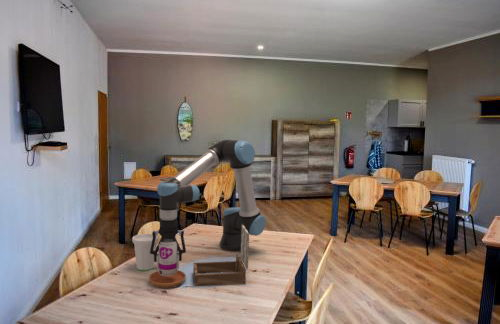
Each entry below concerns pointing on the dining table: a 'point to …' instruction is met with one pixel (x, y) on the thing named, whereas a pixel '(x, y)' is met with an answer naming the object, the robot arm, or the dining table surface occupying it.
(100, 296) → the dining table surface
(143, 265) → the cup
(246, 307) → the dining table surface
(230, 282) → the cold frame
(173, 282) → the saucer
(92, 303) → the dining table surface
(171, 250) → the supplement can
